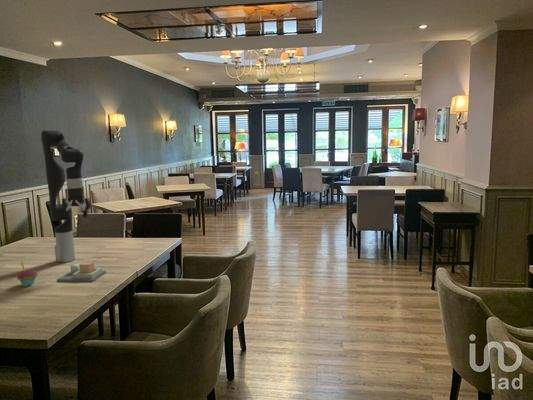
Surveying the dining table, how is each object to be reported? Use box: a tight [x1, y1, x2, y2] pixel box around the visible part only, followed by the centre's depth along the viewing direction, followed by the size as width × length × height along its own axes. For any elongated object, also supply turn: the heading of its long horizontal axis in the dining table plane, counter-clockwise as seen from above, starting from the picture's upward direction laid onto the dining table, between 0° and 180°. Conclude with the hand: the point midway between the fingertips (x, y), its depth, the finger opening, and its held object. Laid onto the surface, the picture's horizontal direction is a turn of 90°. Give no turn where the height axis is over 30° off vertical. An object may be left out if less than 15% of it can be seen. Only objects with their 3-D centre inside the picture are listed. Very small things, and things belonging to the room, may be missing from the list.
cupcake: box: [16, 261, 39, 287], centre depth 191 cm, size 9×8×12 cm
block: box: [79, 261, 96, 273], centre depth 201 cm, size 5×5×6 cm
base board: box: [56, 263, 107, 283], centre depth 201 cm, size 18×14×5 cm
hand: (77, 217), depth 212 cm, fingers open, 8 cm apart
